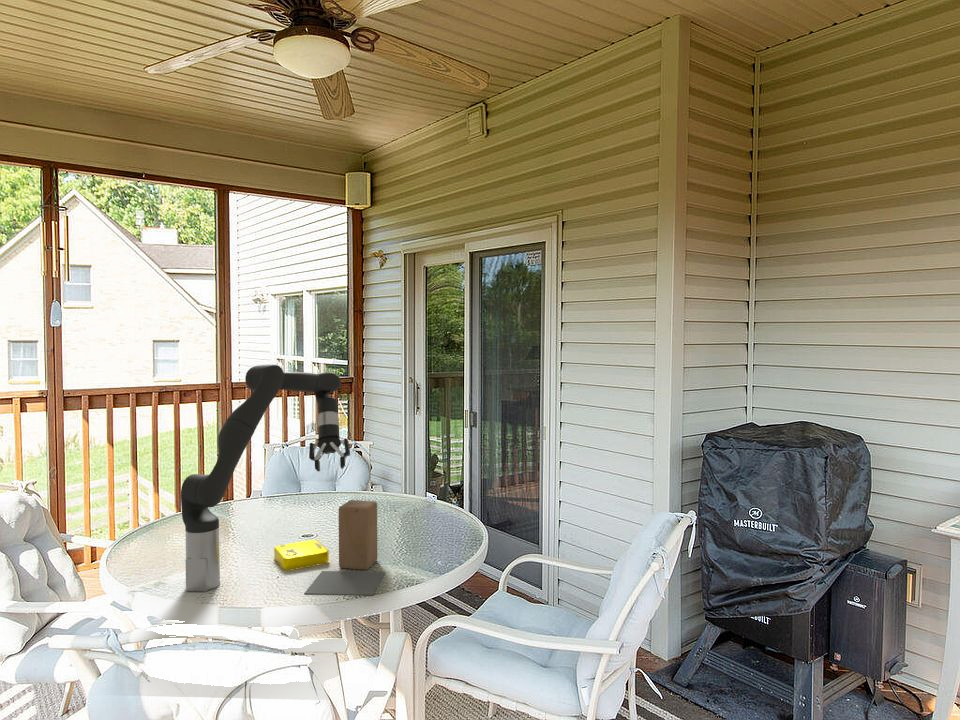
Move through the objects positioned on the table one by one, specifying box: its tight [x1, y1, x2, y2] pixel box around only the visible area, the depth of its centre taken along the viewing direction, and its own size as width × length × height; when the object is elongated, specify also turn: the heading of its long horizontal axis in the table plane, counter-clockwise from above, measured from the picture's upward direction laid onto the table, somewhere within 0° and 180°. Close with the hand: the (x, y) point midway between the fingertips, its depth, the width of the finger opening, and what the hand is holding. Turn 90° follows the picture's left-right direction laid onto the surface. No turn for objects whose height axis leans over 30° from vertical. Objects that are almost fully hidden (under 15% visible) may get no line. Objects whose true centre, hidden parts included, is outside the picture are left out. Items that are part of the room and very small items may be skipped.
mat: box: [303, 570, 386, 596], centre depth 198 cm, size 18×20×1 cm
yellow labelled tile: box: [273, 539, 330, 571], centre depth 219 cm, size 15×15×5 cm
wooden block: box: [338, 499, 378, 571], centre depth 214 cm, size 10×10×20 cm
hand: (330, 469), depth 236 cm, fingers open, 8 cm apart
